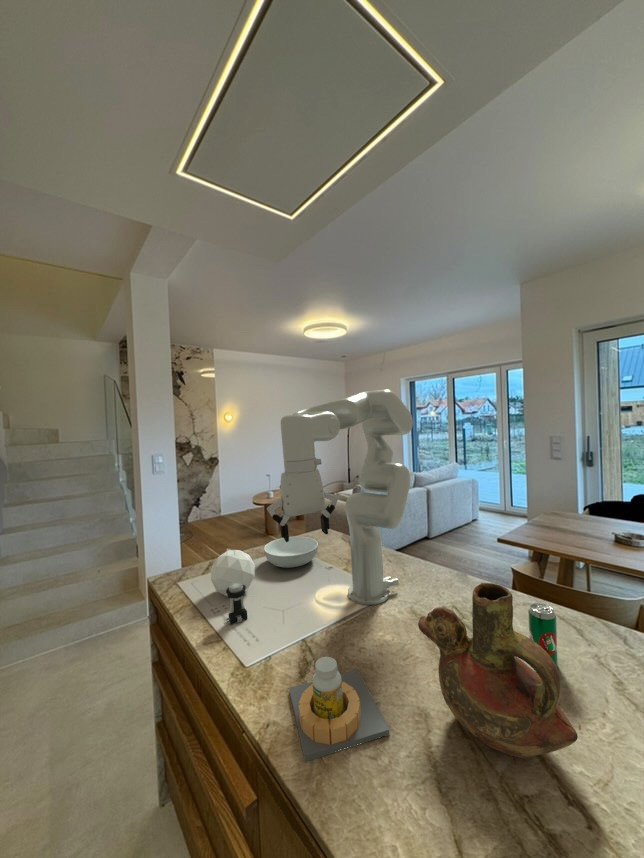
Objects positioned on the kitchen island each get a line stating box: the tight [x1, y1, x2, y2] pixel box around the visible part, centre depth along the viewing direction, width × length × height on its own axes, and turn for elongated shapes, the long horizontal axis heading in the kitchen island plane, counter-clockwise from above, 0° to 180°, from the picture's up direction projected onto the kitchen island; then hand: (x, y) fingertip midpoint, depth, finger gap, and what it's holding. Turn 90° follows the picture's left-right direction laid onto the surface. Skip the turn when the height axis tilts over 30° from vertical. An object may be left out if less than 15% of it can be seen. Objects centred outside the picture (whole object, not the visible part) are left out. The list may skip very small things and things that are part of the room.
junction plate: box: [288, 669, 391, 762], centre depth 66 cm, size 15×15×1 cm
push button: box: [223, 582, 248, 625], centre depth 97 cm, size 7×5×10 cm
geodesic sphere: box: [210, 547, 256, 597], centre depth 114 cm, size 15×14×14 cm
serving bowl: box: [263, 536, 319, 569], centre depth 135 cm, size 21×21×7 cm
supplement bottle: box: [312, 656, 344, 720], centre depth 64 cm, size 5×5×10 cm
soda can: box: [528, 602, 559, 667], centre depth 75 cm, size 5×5×12 cm
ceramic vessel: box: [417, 582, 578, 759], centre depth 61 cm, size 17×26×25 cm, turn 45°
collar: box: [298, 682, 361, 745], centre depth 64 cm, size 11×11×2 cm
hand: (305, 536), depth 84 cm, fingers open, 9 cm apart
